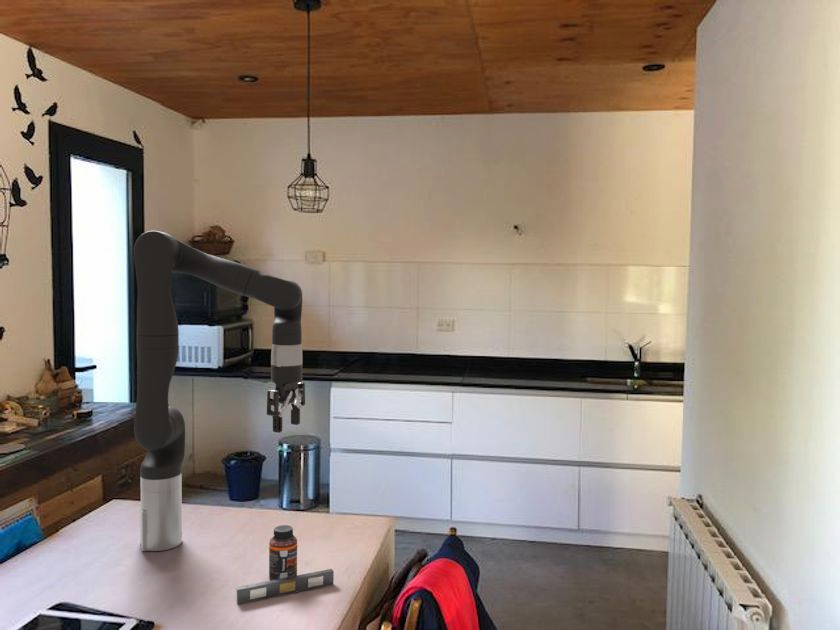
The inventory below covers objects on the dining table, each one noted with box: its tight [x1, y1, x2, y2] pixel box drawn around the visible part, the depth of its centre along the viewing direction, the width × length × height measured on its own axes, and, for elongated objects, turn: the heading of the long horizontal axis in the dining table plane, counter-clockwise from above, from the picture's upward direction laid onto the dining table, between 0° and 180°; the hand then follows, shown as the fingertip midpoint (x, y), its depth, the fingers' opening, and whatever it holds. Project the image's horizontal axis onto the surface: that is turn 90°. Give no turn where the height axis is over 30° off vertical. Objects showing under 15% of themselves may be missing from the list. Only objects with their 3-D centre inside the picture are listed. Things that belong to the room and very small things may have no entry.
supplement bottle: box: [268, 524, 298, 581], centre depth 141 cm, size 6×6×11 cm
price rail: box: [236, 568, 335, 605], centre depth 135 cm, size 20×2×3 cm, turn 116°
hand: (286, 428), depth 160 cm, fingers open, 8 cm apart
